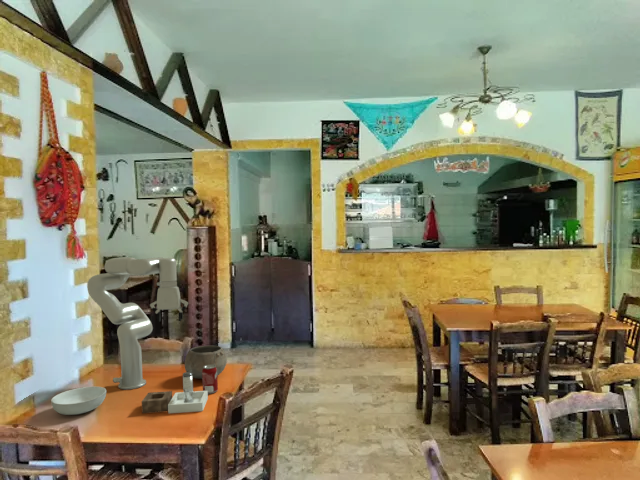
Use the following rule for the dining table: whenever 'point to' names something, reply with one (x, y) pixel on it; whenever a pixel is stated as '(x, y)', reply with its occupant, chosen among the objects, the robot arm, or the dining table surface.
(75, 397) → the serving bowl
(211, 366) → the soda can
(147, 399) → the walnut block
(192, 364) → the clay pot
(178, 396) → the grey tray
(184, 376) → the metal pin
